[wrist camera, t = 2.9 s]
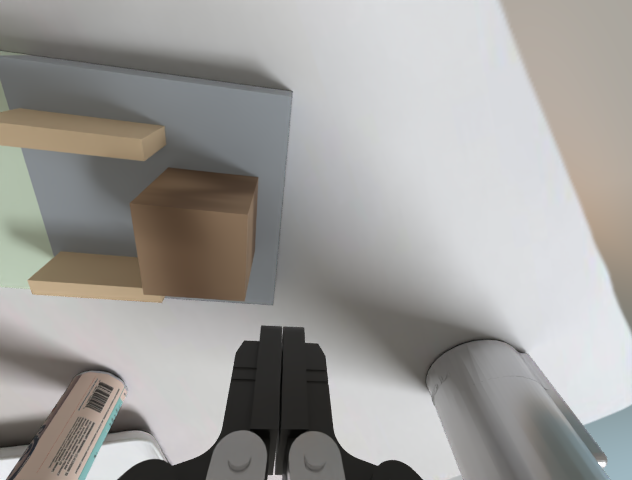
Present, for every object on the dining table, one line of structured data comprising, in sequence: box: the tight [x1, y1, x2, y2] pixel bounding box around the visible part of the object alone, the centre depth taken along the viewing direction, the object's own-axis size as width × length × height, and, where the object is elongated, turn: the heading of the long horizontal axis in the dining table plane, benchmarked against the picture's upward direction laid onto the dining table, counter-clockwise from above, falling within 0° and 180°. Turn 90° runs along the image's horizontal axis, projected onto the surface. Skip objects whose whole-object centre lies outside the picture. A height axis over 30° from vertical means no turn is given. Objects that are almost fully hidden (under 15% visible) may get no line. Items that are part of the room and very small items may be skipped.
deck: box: [0, 51, 293, 305], centre depth 19 cm, size 25×14×6 cm, turn 82°
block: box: [129, 167, 259, 301], centre depth 18 cm, size 5×5×5 cm
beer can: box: [6, 371, 128, 480], centre depth 26 cm, size 5×5×12 cm
